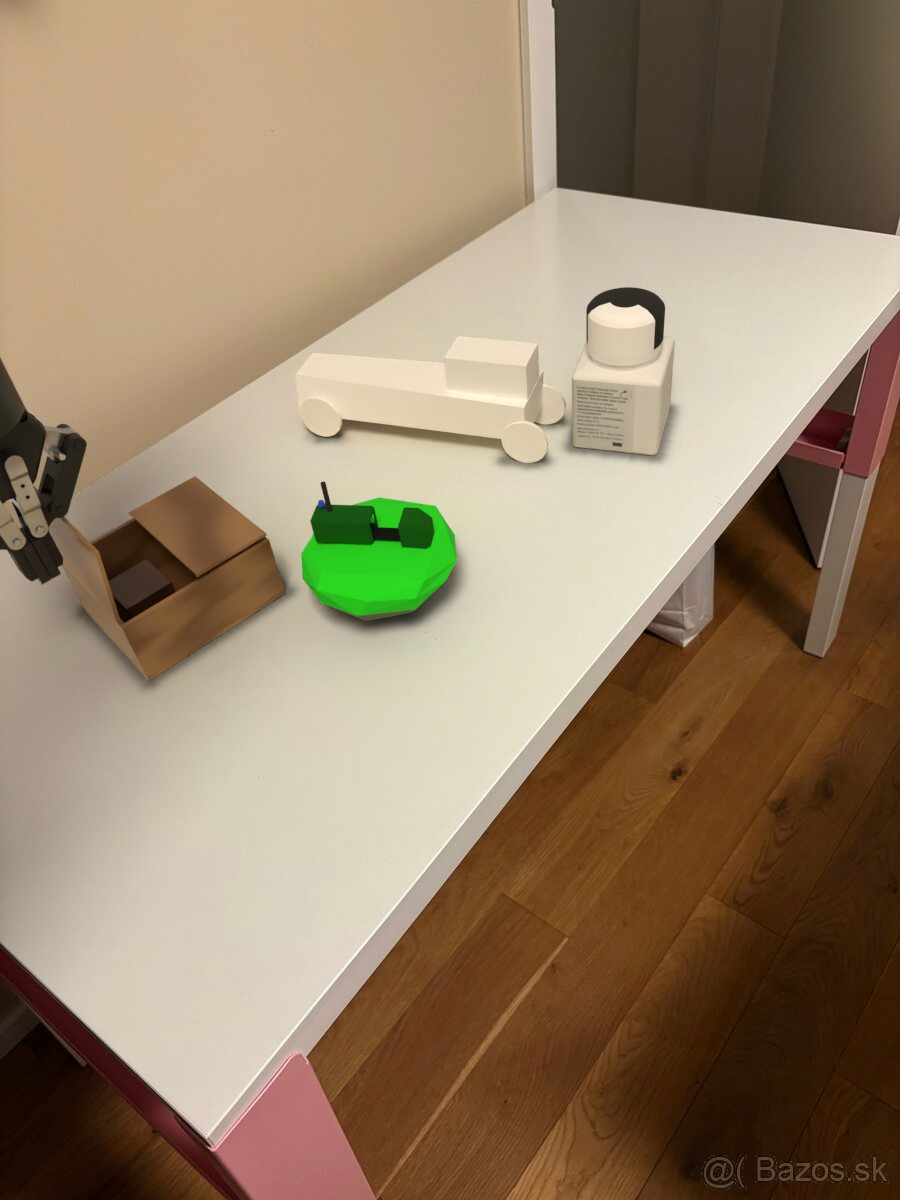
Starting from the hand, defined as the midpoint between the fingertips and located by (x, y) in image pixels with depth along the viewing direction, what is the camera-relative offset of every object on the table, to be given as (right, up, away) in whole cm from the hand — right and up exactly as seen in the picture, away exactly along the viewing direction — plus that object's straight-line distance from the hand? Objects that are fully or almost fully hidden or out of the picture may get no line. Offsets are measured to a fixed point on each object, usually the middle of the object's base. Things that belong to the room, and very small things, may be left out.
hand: (47, 573), depth 68 cm
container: (+45, +14, +21) cm, 51 cm away
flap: (+2, +2, +1) cm, 3 cm away
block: (+5, -3, +8) cm, 10 cm away
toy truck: (+27, +14, +24) cm, 39 cm away
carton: (+7, -2, +10) cm, 12 cm away
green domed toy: (+24, -2, +8) cm, 25 cm away
